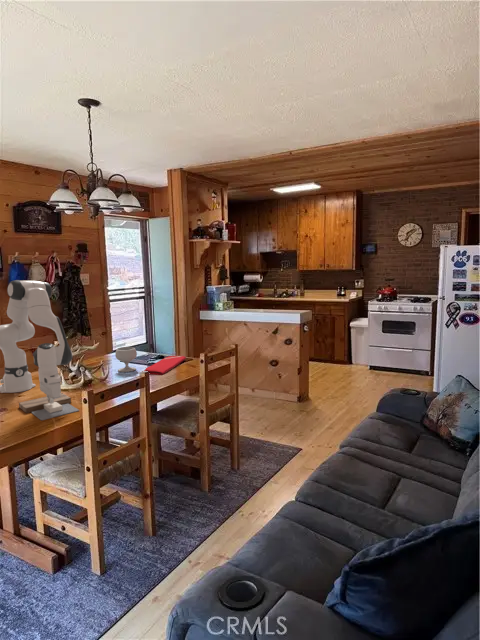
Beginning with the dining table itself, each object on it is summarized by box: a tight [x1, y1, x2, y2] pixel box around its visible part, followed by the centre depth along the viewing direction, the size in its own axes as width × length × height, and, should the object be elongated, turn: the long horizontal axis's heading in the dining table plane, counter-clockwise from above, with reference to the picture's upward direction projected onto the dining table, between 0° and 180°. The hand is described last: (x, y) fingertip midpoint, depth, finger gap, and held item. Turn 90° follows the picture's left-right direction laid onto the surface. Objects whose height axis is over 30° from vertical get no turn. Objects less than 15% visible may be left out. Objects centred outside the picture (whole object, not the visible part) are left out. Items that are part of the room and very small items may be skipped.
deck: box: [18, 392, 72, 414], centre depth 223 cm, size 12×22×2 cm, turn 132°
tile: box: [44, 402, 63, 413], centre depth 216 cm, size 9×6×2 cm, turn 42°
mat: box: [30, 403, 80, 421], centre depth 213 cm, size 15×18×1 cm
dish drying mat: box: [143, 355, 187, 376], centre depth 298 cm, size 16×41×4 cm, turn 165°
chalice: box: [115, 346, 138, 373], centre depth 290 cm, size 14×14×15 cm
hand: (50, 403), depth 216 cm, fingers closed
